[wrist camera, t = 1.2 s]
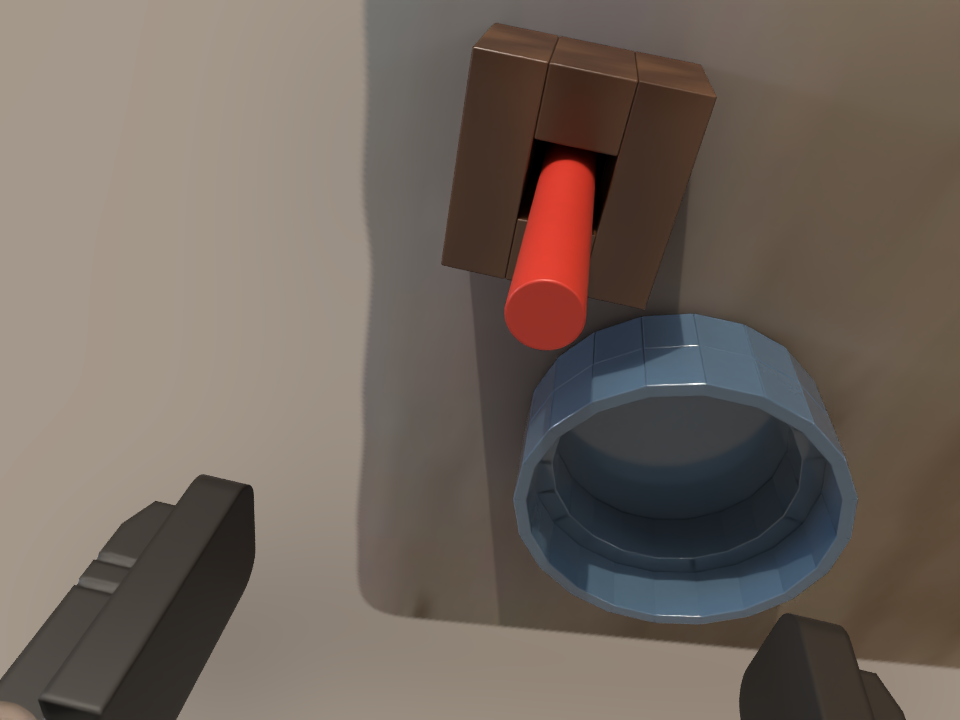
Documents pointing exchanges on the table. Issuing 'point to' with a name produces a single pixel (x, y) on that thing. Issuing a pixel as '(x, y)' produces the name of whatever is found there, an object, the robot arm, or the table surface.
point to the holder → (581, 124)
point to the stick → (555, 253)
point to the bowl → (682, 472)
